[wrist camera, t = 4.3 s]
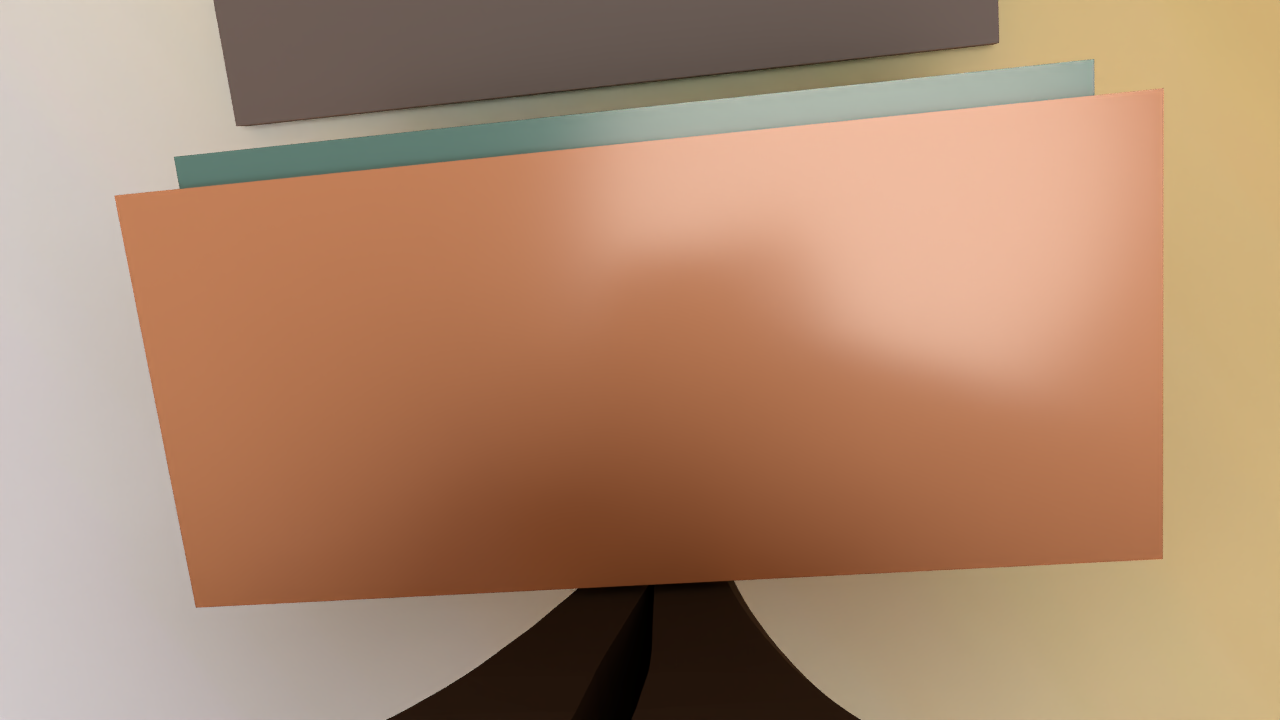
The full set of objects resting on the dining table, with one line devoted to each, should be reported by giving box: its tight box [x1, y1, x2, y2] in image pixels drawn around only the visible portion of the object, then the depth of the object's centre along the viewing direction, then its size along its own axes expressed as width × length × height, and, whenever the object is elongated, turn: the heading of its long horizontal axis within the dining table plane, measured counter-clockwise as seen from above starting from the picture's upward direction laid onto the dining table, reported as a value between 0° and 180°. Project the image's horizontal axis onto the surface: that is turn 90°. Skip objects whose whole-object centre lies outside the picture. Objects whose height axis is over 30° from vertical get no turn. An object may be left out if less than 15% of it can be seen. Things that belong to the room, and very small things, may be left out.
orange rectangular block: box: [115, 59, 1163, 607], centre depth 13 cm, size 4×9×8 cm, turn 96°
